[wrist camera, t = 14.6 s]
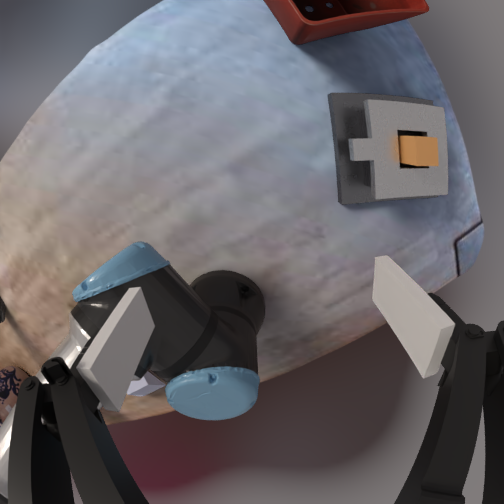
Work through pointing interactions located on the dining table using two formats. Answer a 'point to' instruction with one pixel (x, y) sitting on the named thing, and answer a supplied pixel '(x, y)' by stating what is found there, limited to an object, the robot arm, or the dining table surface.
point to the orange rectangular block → (418, 150)
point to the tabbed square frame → (385, 147)
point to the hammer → (2, 310)
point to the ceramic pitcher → (9, 389)
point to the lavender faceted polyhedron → (145, 385)
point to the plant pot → (339, 16)
